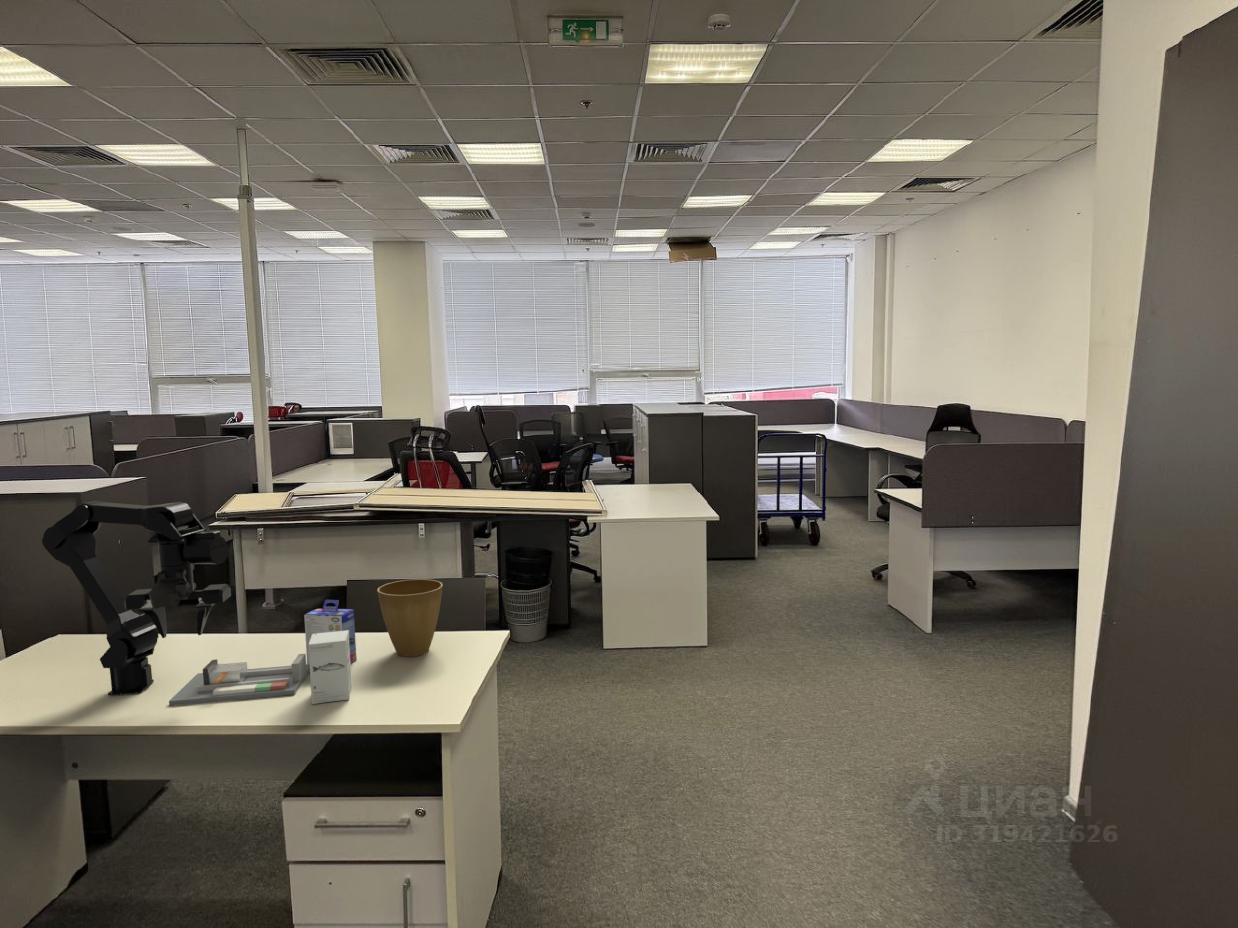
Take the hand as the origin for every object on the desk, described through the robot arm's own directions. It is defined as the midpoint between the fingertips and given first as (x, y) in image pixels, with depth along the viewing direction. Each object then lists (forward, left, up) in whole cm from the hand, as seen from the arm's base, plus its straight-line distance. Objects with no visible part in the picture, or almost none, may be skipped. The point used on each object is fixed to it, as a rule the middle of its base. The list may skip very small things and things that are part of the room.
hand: (182, 636), depth 157 cm
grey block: (+8, -2, -11) cm, 13 cm away
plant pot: (+45, +13, -12) cm, 49 cm away
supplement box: (+31, -10, -12) cm, 35 cm away
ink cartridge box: (+27, +10, -12) cm, 32 cm away
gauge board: (+11, 0, -12) cm, 17 cm away
